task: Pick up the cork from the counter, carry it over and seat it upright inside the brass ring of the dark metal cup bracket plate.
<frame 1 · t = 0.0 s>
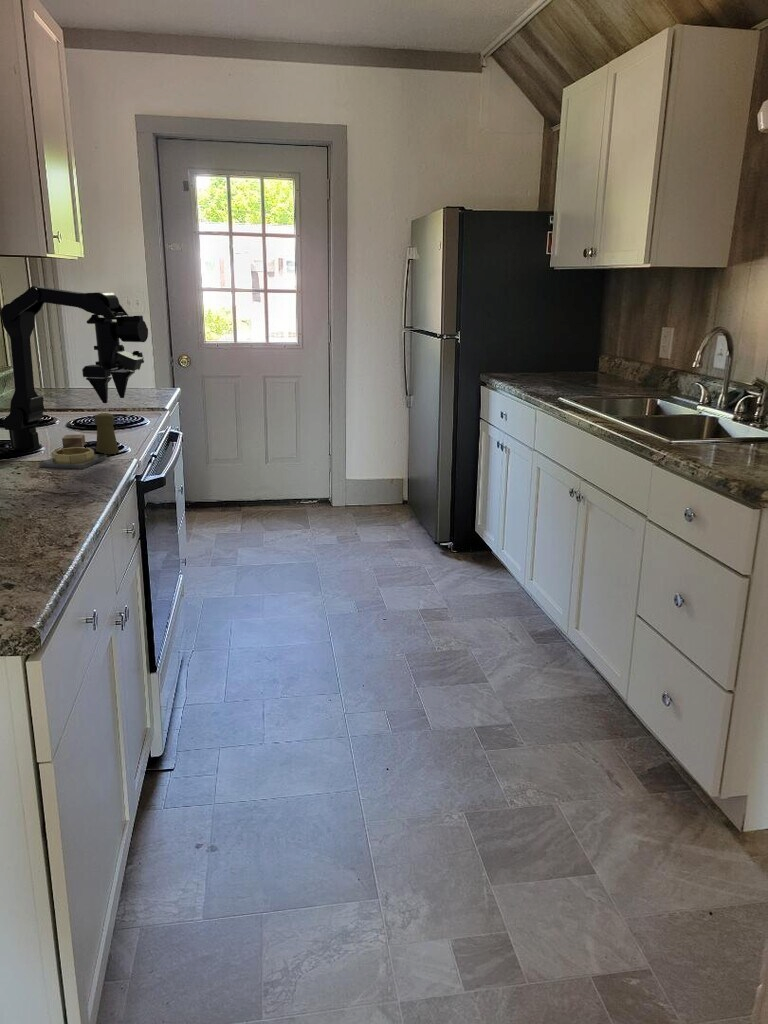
hand: (113, 400, 206), 15 cm above the counter, tool pointing down, fingers open, 9 cm apart
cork: (107, 453, 211), on the counter
cup bracket: (74, 462, 200), on the counter
walnut block: (75, 450, 214), on the counter
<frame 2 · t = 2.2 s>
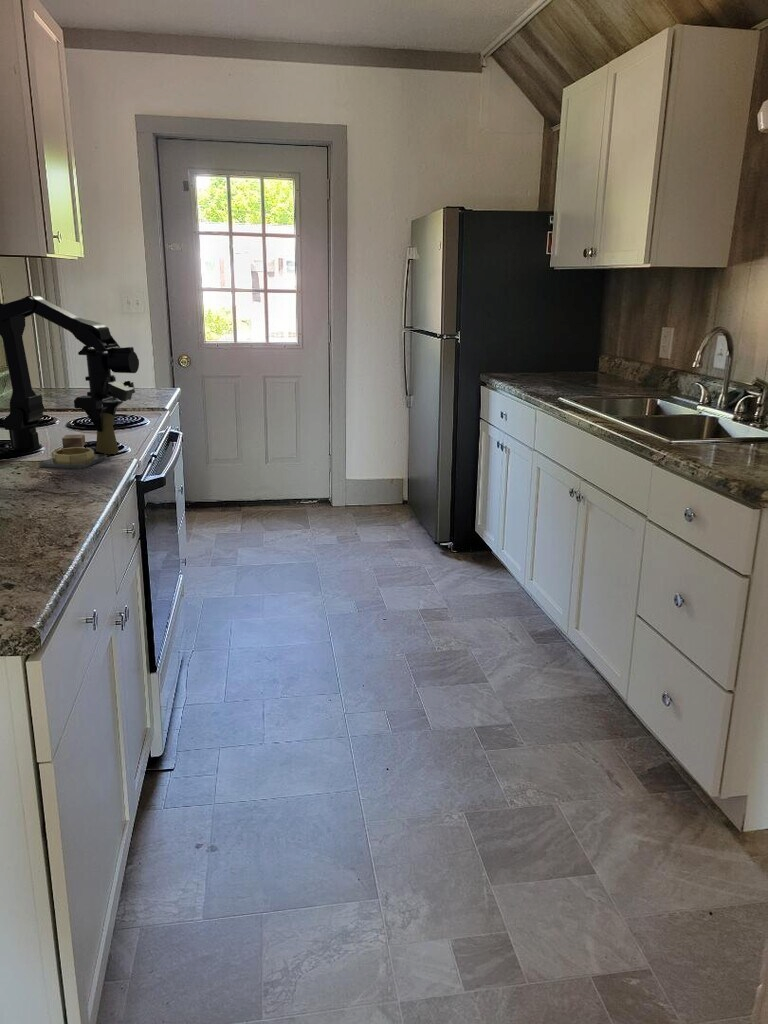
hand: (105, 429, 209), 7 cm above the counter, tool pointing down, fingers closed on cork, 5 cm apart
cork: (107, 453, 211), on the counter, touching gripper
everything else where it was.
when the fingers open (8 cm above the counter, at t = 6.0 s): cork stays where it is, resting on cup bracket.
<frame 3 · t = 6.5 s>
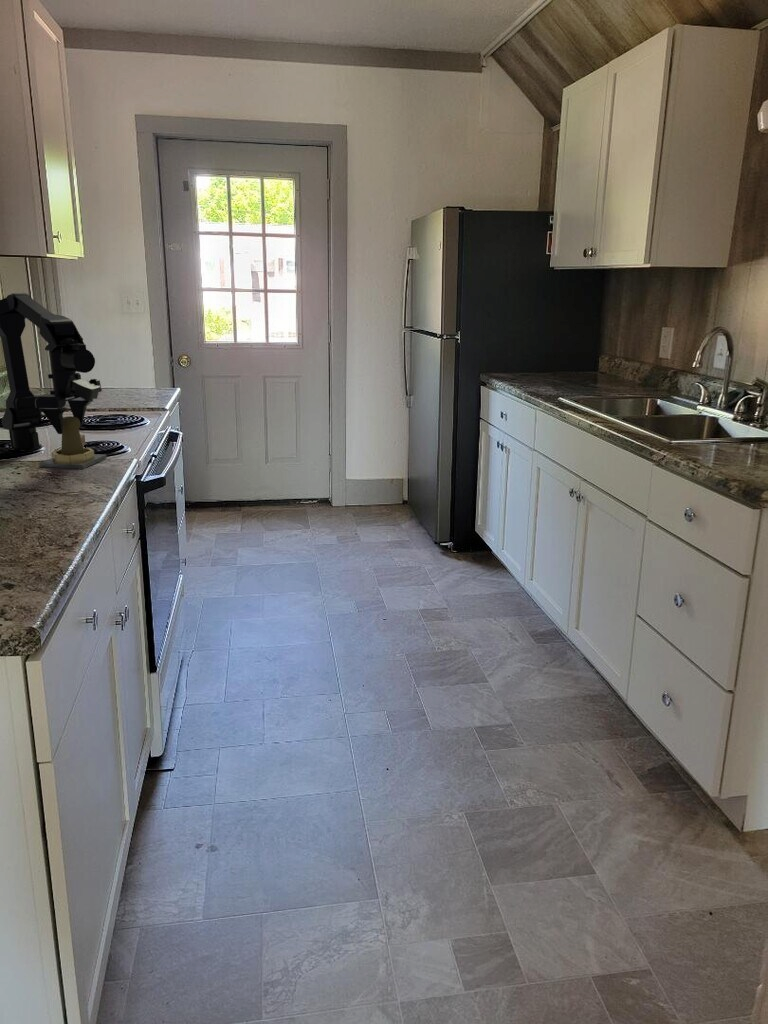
hand: (70, 430, 197), 8 cm above the counter, tool pointing down, fingers open, 9 cm apart
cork: (73, 459, 199), point 1 cm above the counter, touching cup bracket
everything else where it was.
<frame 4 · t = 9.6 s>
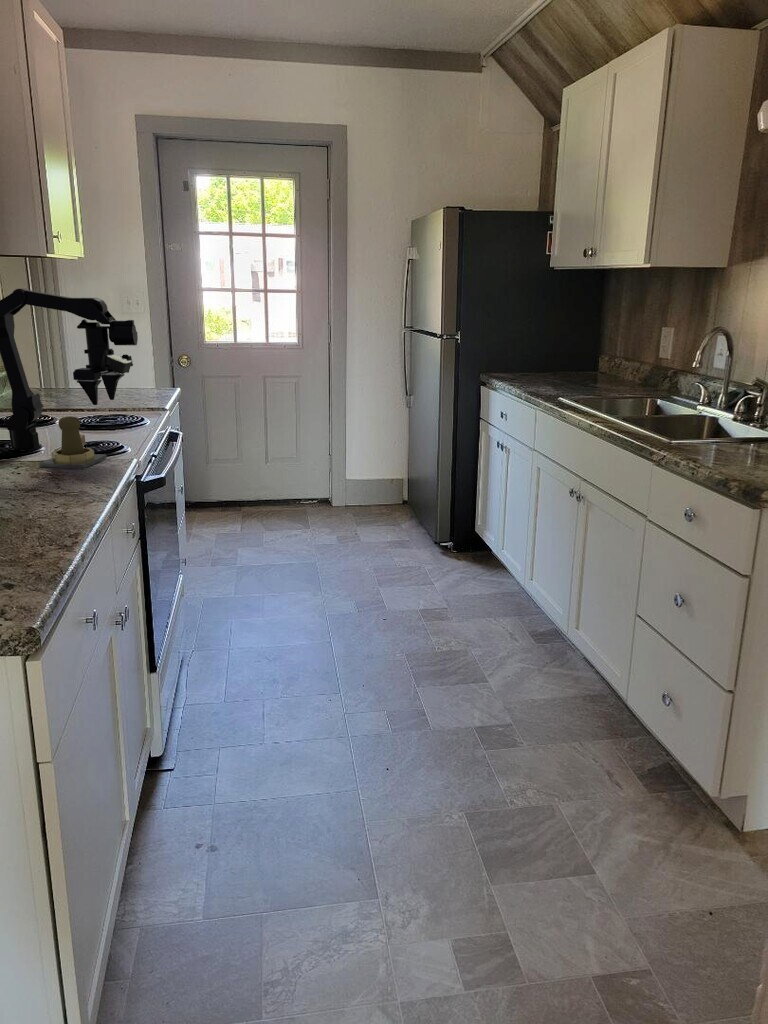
hand: (103, 402, 213), 13 cm above the counter, tool pointing down, fingers open, 9 cm apart
nothing on the counter moved.
at the end: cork 0.1 cm from the cup bracket (horizontally); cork tilted 0°; the gripper is holding nothing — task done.
